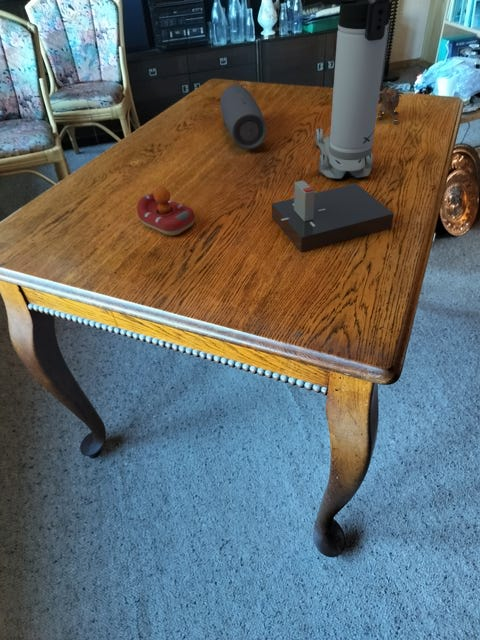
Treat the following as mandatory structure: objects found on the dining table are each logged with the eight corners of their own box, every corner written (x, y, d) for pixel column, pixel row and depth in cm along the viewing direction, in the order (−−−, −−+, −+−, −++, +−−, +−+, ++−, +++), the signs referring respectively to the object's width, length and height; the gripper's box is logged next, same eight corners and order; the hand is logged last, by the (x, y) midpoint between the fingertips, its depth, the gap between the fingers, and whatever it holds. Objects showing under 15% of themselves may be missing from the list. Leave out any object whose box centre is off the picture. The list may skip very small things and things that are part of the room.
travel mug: (377, 159, 68) (401, -6, 54) (331, 161, 68) (343, -2, 55) (369, 142, 73) (390, -15, 59) (326, 144, 73) (337, -11, 59)
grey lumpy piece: (358, 138, 115) (360, 117, 112) (376, 183, 97) (379, 160, 94) (312, 140, 116) (313, 119, 112) (322, 186, 98) (323, 163, 94)
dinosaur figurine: (398, 128, 118) (404, 89, 112) (374, 127, 120) (379, 88, 113) (401, 109, 127) (407, 72, 121) (378, 108, 129) (383, 72, 123)
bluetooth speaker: (270, 152, 112) (269, 108, 105) (231, 157, 111) (228, 113, 105) (253, 119, 129) (251, 80, 122) (220, 123, 128) (216, 84, 121)
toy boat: (160, 207, 95) (153, 172, 90) (202, 224, 89) (197, 187, 84) (132, 224, 91) (123, 188, 86) (174, 242, 85) (167, 205, 80)
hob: (354, 197, 94) (356, 182, 91) (391, 228, 84) (394, 212, 82) (267, 218, 90) (267, 203, 87) (296, 253, 80) (296, 237, 78)
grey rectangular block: (293, 210, 85) (294, 180, 81) (302, 208, 86) (303, 178, 82) (304, 221, 82) (305, 191, 78) (313, 219, 82) (315, 189, 79)
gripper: (326, -145, 53) (318, 24, 65) (374, -154, 43) (355, 50, 54) (389, -150, 54) (370, 19, 65) (451, -160, 43) (416, 43, 55)
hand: (363, 32), depth 60 cm, fingers closed on travel mug, 6 cm apart
